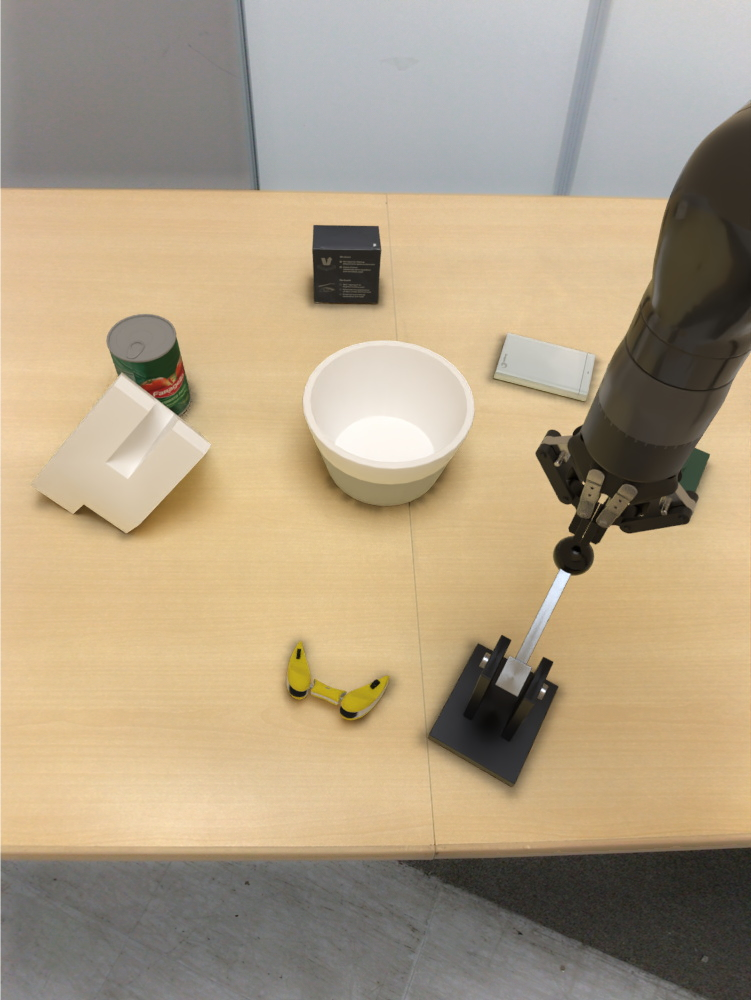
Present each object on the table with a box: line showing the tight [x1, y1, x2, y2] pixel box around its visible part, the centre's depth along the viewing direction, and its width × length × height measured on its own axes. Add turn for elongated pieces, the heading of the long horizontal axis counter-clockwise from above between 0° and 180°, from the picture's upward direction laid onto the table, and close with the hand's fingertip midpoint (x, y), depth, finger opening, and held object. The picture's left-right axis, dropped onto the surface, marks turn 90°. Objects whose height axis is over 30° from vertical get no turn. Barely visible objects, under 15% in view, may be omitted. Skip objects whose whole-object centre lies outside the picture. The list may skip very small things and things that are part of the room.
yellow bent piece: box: [285, 640, 390, 721], centre depth 73 cm, size 10×6×4 cm, turn 68°
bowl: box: [301, 339, 476, 507], centre depth 87 cm, size 19×19×11 cm
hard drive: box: [493, 331, 597, 402], centre depth 100 cm, size 2×8×12 cm
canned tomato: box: [105, 313, 192, 418], centre depth 90 cm, size 8×8×11 cm
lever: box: [495, 535, 595, 697], centre depth 66 cm, size 15×4×4 cm, turn 150°
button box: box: [679, 447, 711, 493], centre depth 90 cm, size 11×9×4 cm
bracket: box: [427, 634, 559, 788], centre depth 69 cm, size 11×9×12 cm
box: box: [311, 224, 382, 305], centre depth 104 cm, size 9×6×10 cm, turn 92°
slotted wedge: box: [29, 373, 212, 534], centre depth 81 cm, size 14×11×18 cm
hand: (583, 536), depth 64 cm, fingers closed
